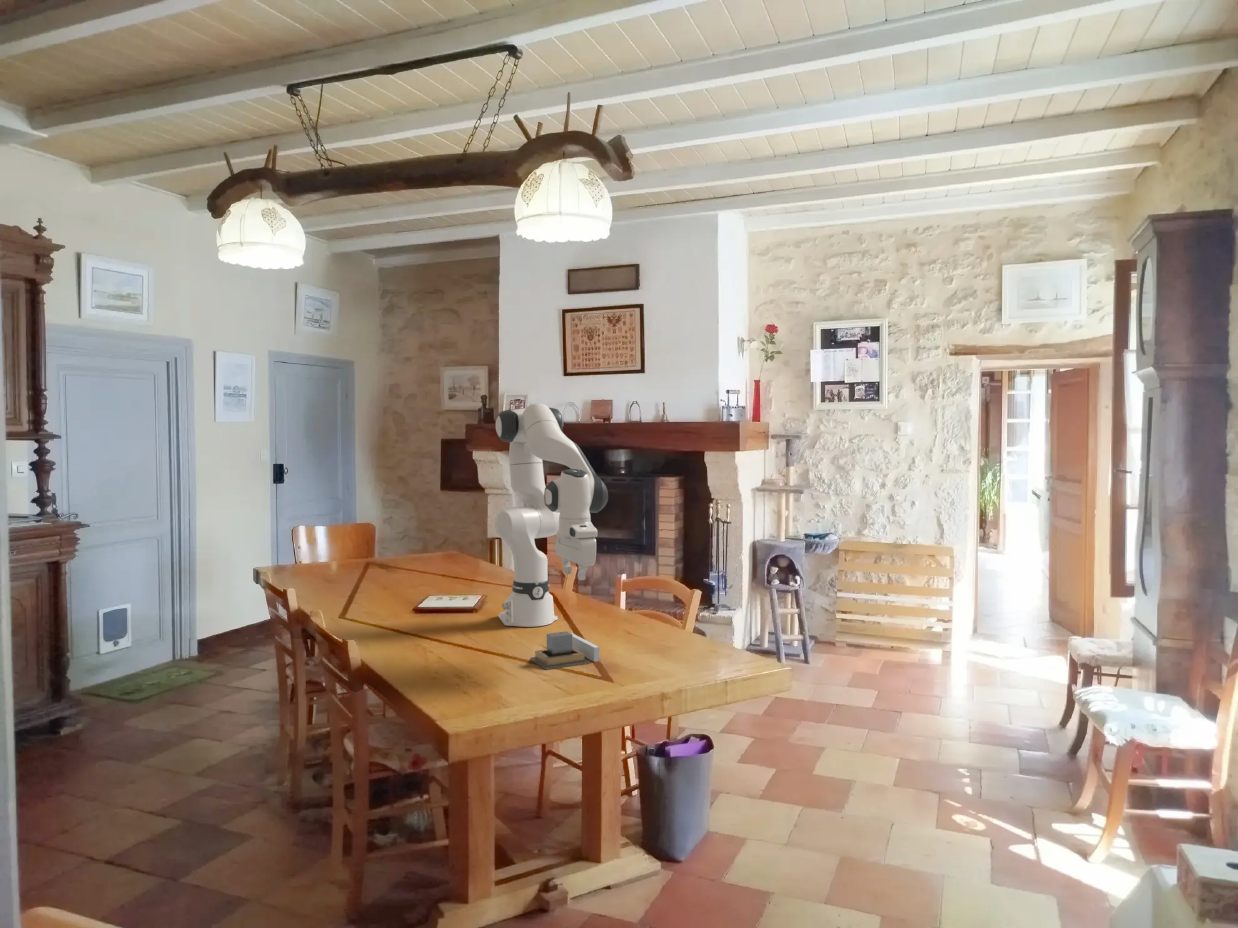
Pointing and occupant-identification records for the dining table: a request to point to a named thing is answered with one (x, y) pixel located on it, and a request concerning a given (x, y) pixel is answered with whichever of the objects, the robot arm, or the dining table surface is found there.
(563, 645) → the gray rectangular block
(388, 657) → the dining table surface
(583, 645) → the door edge
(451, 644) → the dining table surface
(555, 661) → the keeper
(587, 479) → the robot arm
